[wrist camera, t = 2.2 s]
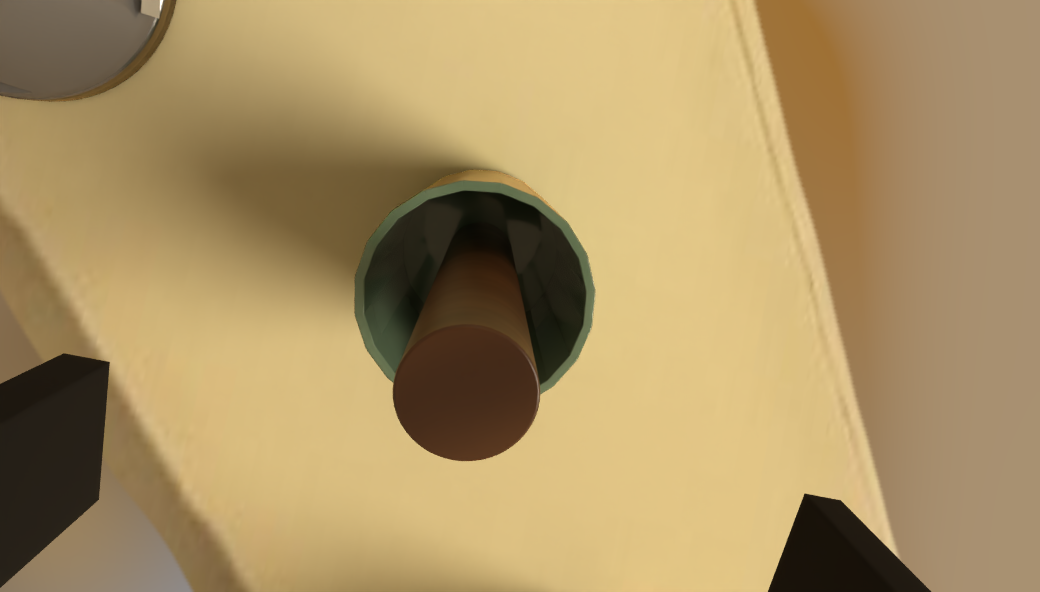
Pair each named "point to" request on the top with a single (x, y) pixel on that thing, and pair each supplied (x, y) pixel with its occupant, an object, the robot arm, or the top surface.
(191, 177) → the top surface
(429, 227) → the tin
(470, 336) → the stick
